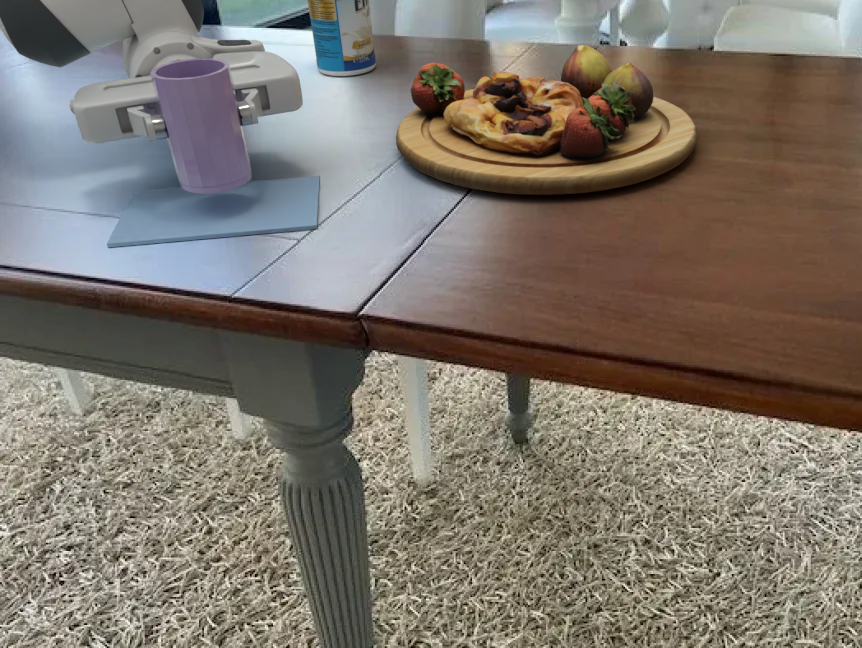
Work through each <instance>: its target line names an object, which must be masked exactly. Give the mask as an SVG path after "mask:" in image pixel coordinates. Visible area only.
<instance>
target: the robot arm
mask: <svg viewBox="0 0 862 648" xmlns="http://www.w3.org/2000/svg"><path fill="white" fill-rule="evenodd" d="M204 16H205V9H204V5H203V2H202V0H0V30H1V32H2V34H3V35H4V37H5V38H6V40H7V41H8V43H10V44H11V46H12V47H13V48H14V49H15V50H16V52H17V53H18V54H19V55H20V56H23V57H25V58H27V59H29V60H31V61H34V62H37V63H39V64H43V65H47V66H52V67H56V68H63V67H66V66H67V65H70V64H71V63H74V62H76V61H79V60H80V59H82V58H84V57H86V56H88V55H90V54H91V52H94V51H96V50H100V49H102V48H105V47H108V46H110V45H113V44H116V43H119V42H121V41H122V42H123V43H122V62H123V67H124V70H125V73H126V76H127V78H123V79H117V80H110V81H102V82H96V83H91V84H87V85H85V86H82V87H80V88H79V89H78V90H77V91H76V92H75V94H74V97H73V98H72V99H70V100H69V109H70V111H71V112H72V114H73V115H74V116H75V120H76V124H77V128H78V130H79V134H80V135H81V139H82V140H83V142H84V143H87V144H94V145H99V144H104V143H110V142H111V143H112V142H117V141H123V140H129V139H135V138H140V137H145V138H149V140H150V142H156V141H160V140H161V141H162V140H168V139H167V138H168V134H167V131H166V129H165V128H166V126H165V123H164V119H163V117H162V116H161V113H160V109H159V105H158V101H157V97H156V94H155V90H154V86H153V82H152V78H151V74H150V73H151V72H152V70H153V69H155V68H157V67H159V66H161V65H164V64H167V63H171V62H175V61H180V60H186V59H198V58H212V59H220V60H225V61H226V62H228V63H229V65H230V69H231V74H232V79H233V84H234V89H235V93H236V98H237V103H238V109H239V114H240V117H241V123H242V127H244V126H245V127H246V126H251V125H252V126H253V125H256V124H259V118H261V117H266V116H273V115H278V114H279V115H280V114H285V113H291V112H296V111H298V110H300V109H301V108H302V107H303V104H304V101H303V100H304V99H303V92H302V86H301V81H300V76H299V73H298V71H297V69H296V68H295V67H294V66H293V65H292V64H291V63H289V62H288V61H287V60H285V59H284V58H283V57H282V56H280V55H278V54H276V53H273V52H269V51H266V49H265V47H264V44H263V42H262V41H260V40H258V39H214V38H207V37H203V36H200V35H199V34H198V33H200V32H201V29H202V27H203V22H204Z"/></svg>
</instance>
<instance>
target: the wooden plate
mask: <svg viewBox="0 0 862 648" xmlns="http://www.w3.org/2000/svg"><path fill="white" fill-rule="evenodd" d="M651 83H652V82H651V81H650V79H649V78H648V77H647V75H646V74H645V73H644V72H643V71H642V70H641V69H638V68H637V67H636V66H634V64H632V63H631V62H625V63H624V64H622V65H621V66H619V67H617V68H615V69H613V70H612V67H611V65H610V63H609V62H608V60H607V58H606V57H605V56H604V55H603V54H602V53H600V52H599V51H598V50H596V49H594V48H593V47H592V46H589V45H587V44H584V45H583V44H579V45H577V46H576V47H575V48H574V49H573V51H572V53H571V54H570V56H568V58H567V60H565V62H564V65H563V67H562V71H561V74H560V80H556V79H551V80H548V81H547V80H546V78H545V77H544V76H532V77H525V78H520V75H518V74H515V73H512V72H507V71H501V72H500V71H499V72H496V71H494V72H493V73H492V75H490V77H489V76H482V77H481V78H479V80H478V81H477V83H476V85H475V86H474V88H470V89H466V87H465V82H464V80H463V77H462V76H460V74H458V73H457V72H456V71H455V70H454V69H453V68H452V67H449V66H447V65H446V64H444V63H438V62H428V63H427V64H424V65H423V66H421V68H420V69H419V70H418V72H417V75H416V76H415V77H414V79H413V81H412V85H411V87H410V96H411V99H412V102H413V104H414V105H415V106H416V108H414V109H413V110H411V111H410V112H408V114H407V115H405V117H404V118H402V119H401V121H400V123H399V124H398V127H397V130H396V133H395V134H396V135H395V142H396V148H397V150H398V153H399V154H400V155H401V157H402V158H403V159H404V160H405V161H406V163H408V164H409V165H410V166H411V167H413V168H414V169H416V170H417V171H419V172H421V174H424V175H427V176H430V177H431V178H433V179H436V180H438V181H442V182H444V183H449V184H452V185H454V186H455V185H456V186H459V187H463V188H468V189H473V190H480V191H486V192H490V193H491V192H492V193H499V194H509V195H527V196H528V195H529V196H530V195H532V196H533V195H534V196H535V195H536V196H537V195H538V196H549V195H551V196H552V195H572V194H573V195H574V194H575V195H576V194H586V193H587V194H588V193H595V192H600V191H606V190H607V191H608V190H614V189H618V188H623V187H628V186H632V185H635V184H639V183H642V182H645V181H648V180H652V179H654V178H657V177H658V176H660V175H663V174H665V173H667V172H669V171H671V170H673V169H674V168H677V167H678V166H679V165H681V163H683V162H684V161H686V159H688V157H689V156H690V155H691V153H692V152H693V150H694V149H695V147H696V144H697V138H698V132H697V127H696V124H695V123H694V121H693V119H692V118H691V117H690V116H689V115H688V113H687V112H686V111H684V110H683V109H681V108H680V107H678V106H677V105H675V104H673V103H671V102H669V101H668V100H667V101H666V100H664V99H661V98H658V97H656V96H654V89H653V85H652V84H651Z"/></svg>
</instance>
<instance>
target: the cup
mask: <svg viewBox="0 0 862 648" xmlns="http://www.w3.org/2000/svg"><path fill="white" fill-rule="evenodd" d="M150 74H151V78H152V82H153V86H154V90H155V94H156V97H157V101H158V105H159V109H160V113H161V116H162V117H163V119H164V123H165V126H166V128H165V129H166V131H167V134H168V138H167V139H166V140H167V143H168V147H169V151H170V155H171V159H172V162H173V166H174V170H175V173H176V177H177V180H178V183H179V187H181V188H182V189H184V190H185V191H188V192H192V193H200V194H208V193H218V192H224V191H228V190H232V189H235V188H238V187H240V186H242V185H244V184H246V183H247V182H249V181H251V180H252V176H253V173H252V165H251V161H250V156H249V151H248V146H247V142H246V137H245V131H244V126H242V123H241V117H240V114H239V109H238V103H237V98H236V93H235V89H234V84H233V79H232V74H231V69H230V65H229V63H228V62H226V61H225V60H220V59H212V58H198V59H186V60H180V61H175V62H171V63H167V64H164V65H161V66H159V67H157V68H155V69H153V70H152V72H151V73H150Z"/></svg>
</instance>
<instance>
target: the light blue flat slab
mask: <svg viewBox="0 0 862 648" xmlns="http://www.w3.org/2000/svg"><path fill="white" fill-rule="evenodd" d="M320 185H321V177H320V175H312V176H311V175H310V176H298V177H288V178H287V177H286V178H277V179H276V178H275V179H262V180H249V181H248V182H247V183H246V184H244V185H242V186H240V187H238V188H235V189H232V190H228V191H224V192H218V193H208V194H200V193H192V192H188V191H185V190H184V189H182V188H181V186H179V187H177V186H176V187H165V188H153V189H141V190H133V192H132V194H131V196H130V198H129V199H128V202H127V203H126V205H125V208H124V210H123V211H122V213H121V215H120V217H119V219H118V221H117V223H116V225H115V227H114V229H113V230H112V232H111V235H109V236H110V237H108V240H107V242H106V246H107V248H119V247H128V246H140V245H141V246H142V245H151V244H152V245H153V244H163V243H173V242H174V243H175V242H186V241H198V240H208V239H220V238H230V237H232V238H233V237H241V236H252V235H253V236H254V235H264V234H265V235H266V234H277V233H285V232H298V231H308V230H309V231H311V230H318V225H319V208H320V207H319V205H320V188H321V186H320Z"/></svg>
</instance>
